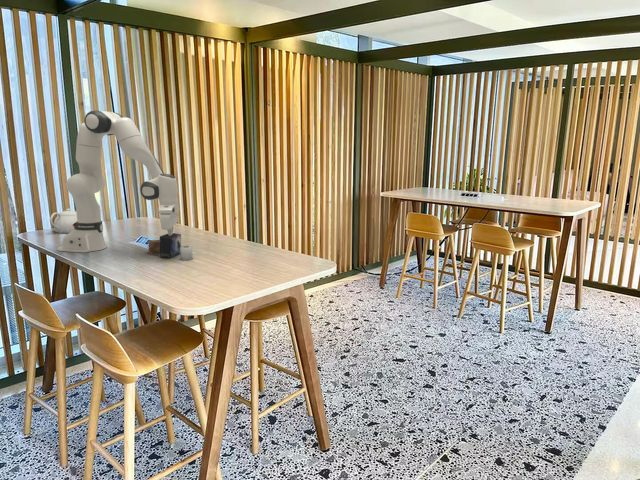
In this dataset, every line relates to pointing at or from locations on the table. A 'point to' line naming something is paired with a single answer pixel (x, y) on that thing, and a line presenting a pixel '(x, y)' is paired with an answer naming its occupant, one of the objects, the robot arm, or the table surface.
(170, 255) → the small box
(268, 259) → the table surface
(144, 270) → the table surface
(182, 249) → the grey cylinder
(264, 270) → the table surface
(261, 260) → the table surface
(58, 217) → the teapot
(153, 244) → the walnut cube
